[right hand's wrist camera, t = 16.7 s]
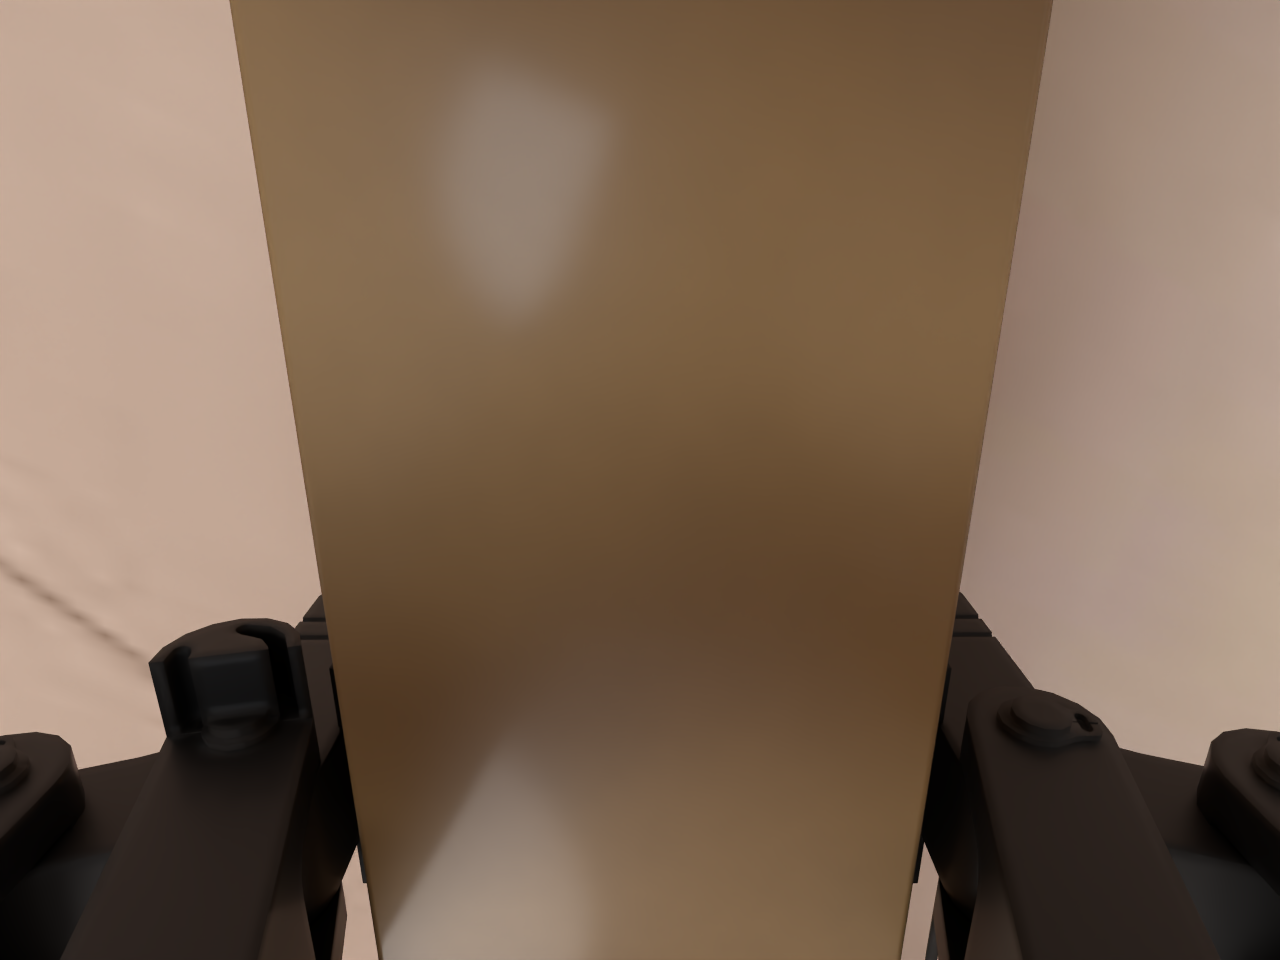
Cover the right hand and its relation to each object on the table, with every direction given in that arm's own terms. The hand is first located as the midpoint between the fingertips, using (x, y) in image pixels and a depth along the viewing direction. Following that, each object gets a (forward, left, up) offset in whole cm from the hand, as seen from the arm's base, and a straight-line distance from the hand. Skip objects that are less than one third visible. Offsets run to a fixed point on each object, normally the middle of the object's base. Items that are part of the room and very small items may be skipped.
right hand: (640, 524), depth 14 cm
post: (+16, +11, -1) cm, 19 cm away
